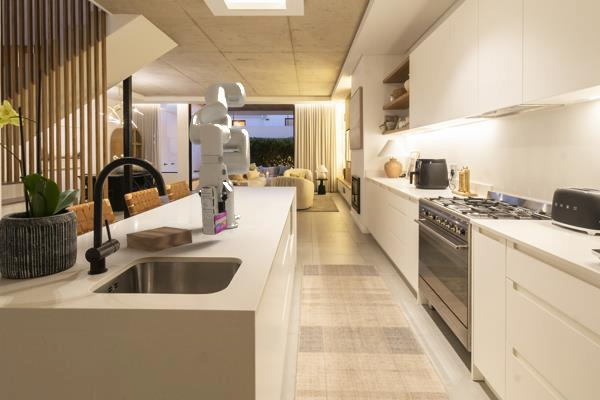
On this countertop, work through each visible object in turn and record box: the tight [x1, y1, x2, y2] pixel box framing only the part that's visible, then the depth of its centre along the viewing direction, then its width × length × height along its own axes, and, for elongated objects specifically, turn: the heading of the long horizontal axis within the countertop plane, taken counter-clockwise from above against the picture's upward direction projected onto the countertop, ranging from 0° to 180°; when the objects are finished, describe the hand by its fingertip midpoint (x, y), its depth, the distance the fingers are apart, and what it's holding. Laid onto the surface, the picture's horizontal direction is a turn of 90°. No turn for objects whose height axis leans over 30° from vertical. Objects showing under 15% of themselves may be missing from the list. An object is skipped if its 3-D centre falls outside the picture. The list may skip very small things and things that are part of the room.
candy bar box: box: [200, 186, 227, 236], centre depth 144 cm, size 11×5×16 cm, turn 168°
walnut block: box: [125, 225, 193, 253], centre depth 142 cm, size 16×14×5 cm
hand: (214, 211), depth 144 cm, fingers closed on candy bar box, 6 cm apart
